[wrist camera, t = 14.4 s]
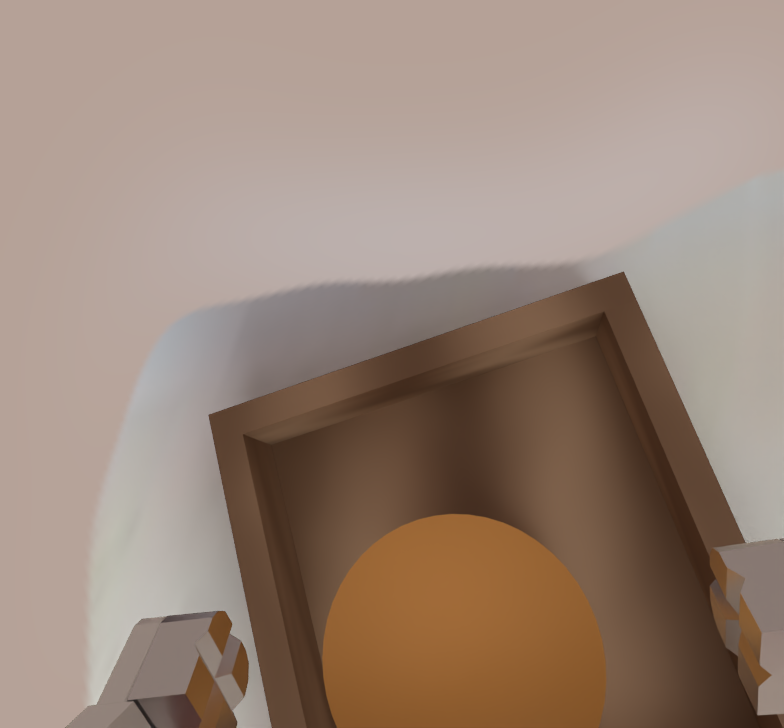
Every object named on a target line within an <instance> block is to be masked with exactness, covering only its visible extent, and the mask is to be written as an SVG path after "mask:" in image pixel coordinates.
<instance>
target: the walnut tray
mask: <svg viewBox="0 0 784 728" xmlns="http://www.w3.org/2000/svg"><path fill="white" fill-rule="evenodd" d="M209 420H210V425H211V429H212V434H213V439H214V444H215V449H216V454H217V459H218V464H219V469H220V474H221V479H222V484H223V489H224V494H225V499H226V503H227V508H228V513H229V518H230V523H231V528H232V533H233V538H234V543H235V548H236V553H237V558H238V563H239V568H240V573H241V577H242V582H243V587H244V592H245V597H246V602H247V607H248V612H249V617H250V622H251V627H252V632H253V637H254V642H255V646H256V651H257V656H258V661H259V666H260V671H261V676H262V681H263V686H264V691H265V696H266V701H267V706H268V711H269V716H270V720H271V725H272V728H337V726H336V724H335V721H334V719H333V717H332V713H331V710H330V707H329V703H328V700H327V696H326V690H325V684H324V678H323V661H322V656H323V640H324V634H325V628H326V623H327V619H328V615H329V612H330V609H331V606H332V602H333V600H334V598H335V596H336V593H337V591H338V589H339V587H340V585H341V583H342V582H343V580H344V578H345V577H346V575H347V573H348V572H349V570H350V569H351V568H352V566H353V565H354V564H355V563H356V561H357V560H358V559H359V558H360V556H361V555H362V554H363V553H364V552H366V551H367V550H368V549H369V548H370V547H371V546H372V545H373V544H374V543H375V542H377V541H378V540H379V539H381V538H382V537H383V536H385V535H386V534H388V533H390V532H391V531H393V530H395V529H397V528H399V527H400V526H403V525H405V524H408V523H410V522H413V521H415V520H418V519H422V518H427V517H431V516H436V515H446V514H468V515H475V516H481V517H487V518H490V519H493V520H496V521H500V522H503V523H505V524H508V525H510V526H512V527H514V528H516V529H519V530H521V531H522V532H524V533H526V534H527V535H529V536H530V537H532V538H534V539H535V540H537V541H538V542H539V543H541V544H542V545H543V546H544V547H546V548H547V549H548V550H549V551H551V552H552V553H553V554H554V555H555V556H556V557H557V558H558V559H559V560H560V561H561V563H562V564H563V565H564V566H565V567H566V568H567V569H568V571H569V572H570V573H571V575H572V576H573V577H574V579H575V580H576V581H577V582H578V584H579V586H580V588H581V589H582V591H583V593H584V594H585V596H586V598H587V600H588V602H589V604H590V606H591V609H592V611H593V613H594V615H595V618H596V620H597V624H598V627H599V631H600V634H601V637H602V642H603V648H604V654H605V660H606V692H605V703H604V707H603V712H602V717H601V721H600V724H599V727H598V728H784V714H771V715H757V713H756V711H755V709H754V707H753V705H752V703H751V701H750V699H749V696H748V694H747V692H746V690H745V688H744V686H743V684H742V682H741V680H740V677H739V675H738V656H737V655H736V654H734V653H733V652H731V651H730V650H729V649H727V648H726V647H725V645H724V643H723V640H722V638H721V636H720V634H719V631H718V628H717V625H716V622H715V620H714V616H713V611H712V606H711V601H710V585H711V584H712V583H713V582H714V580H715V579H716V577H715V575H714V573H713V571H712V569H711V567H710V552H711V550H712V548H714V547H721V546H728V545H736V544H743V543H745V541H744V538H743V536H742V534H741V532H740V530H739V527H738V525H737V523H736V521H735V518H734V516H733V514H732V512H731V510H730V507H729V505H728V503H727V501H726V498H725V496H724V494H723V492H722V489H721V487H720V485H719V483H718V481H717V478H716V476H715V474H714V472H713V469H712V467H711V465H710V463H709V460H708V458H707V456H706V454H705V452H704V449H703V447H702V445H701V443H700V440H699V438H698V436H697V434H696V432H695V429H694V427H693V425H692V423H691V420H690V418H689V416H688V414H687V411H686V409H685V407H684V405H683V403H682V400H681V398H680V396H679V394H678V391H677V389H676V387H675V385H674V382H673V380H672V378H671V376H670V374H669V371H668V369H667V367H666V365H665V362H664V360H663V358H662V356H661V353H660V351H659V349H658V347H657V345H656V342H655V340H654V338H653V336H652V333H651V331H650V329H649V327H648V325H647V322H646V320H645V318H644V316H643V313H642V311H641V309H640V307H639V304H638V302H637V300H636V298H635V296H634V293H633V291H632V289H631V287H630V284H629V282H628V280H627V278H626V275H625V273H624V272H621V273H618V274H615V275H612V276H609V277H606V278H604V279H601V280H598V281H595V282H592V283H589V284H586V285H583V286H580V287H577V288H575V289H572V290H569V291H566V292H563V293H560V294H557V295H554V296H551V297H549V298H546V299H543V300H540V301H537V302H534V303H531V304H528V305H525V306H522V307H520V308H517V309H514V310H511V311H508V312H505V313H502V314H499V315H496V316H494V317H491V318H488V319H485V320H482V321H479V322H476V323H473V324H470V325H467V326H465V327H462V328H459V329H456V330H453V331H450V332H447V333H444V334H441V335H439V336H436V337H433V338H430V339H427V340H424V341H421V342H418V343H415V344H412V345H410V346H407V347H404V348H401V349H398V350H395V351H392V352H389V353H386V354H384V355H381V356H378V357H375V358H372V359H369V360H366V361H363V362H360V363H357V364H355V365H352V366H349V367H346V368H343V369H340V370H337V371H334V372H331V373H329V374H326V375H323V376H320V377H317V378H314V379H311V380H308V381H305V382H302V383H300V384H297V385H294V386H291V387H288V388H285V389H282V390H279V391H276V392H274V393H271V394H268V395H265V396H262V397H259V398H256V399H253V400H250V401H247V402H245V403H242V404H239V405H236V406H233V407H230V408H227V409H224V410H221V411H219V412H216V413H213V414H210V415H209Z"/></svg>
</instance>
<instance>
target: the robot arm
mask: <svg viewBox="0 0 784 728" xmlns="http://www.w3.org/2000/svg"><path fill="white" fill-rule="evenodd" d="M710 567H711V569H712V571H713V573H714V575H715V577H716V579H715V580H714V582H713V583H712V584H711V585H710V601H711V606H712V611H713V616H714V620H715V622H716V625H717V628H718V631H719V634H720V636H721V638H722V640H723V643H724V645H725V647H726V648H727V649H729V650H730V651H731V652H733V653H734V654H736V655H737V656H738V675H739V677H740V680H741V682H742V684H743V686H744V688H745V690H746V692H747V694H748V696H749V699H750V701H751V703H752V705H753V707H754V709H755V711H756V713H757V715H771V714H784V538H782V539H780V540H779V539H772V540H765V541H757V542H750V543H743V544H736V545H728V546H721V547H714V548H712V550H711V552H710ZM231 627H232V622H231V621H230V619H229V617H228V615H227V614H226V612H225V611H213V612H203V613H193V614H183V615H172V616H166V617H156V618H147V619H142V620H140V621H139V622H138V623H137V624H136V625H135V626H134V628H133V630H132V632H131V634H130V636H129V638H128V640H127V642H126V644H125V646H124V648H123V651H122V653H121V655H120V657H119V659H118V661H117V663H116V665H115V667H114V669H113V671H112V674H111V676H110V678H109V680H108V682H107V684H106V686H105V688H104V690H103V692H102V694H101V696H100V699H99V701H98V703H97V705H91V706H88V707H87V708H86V709H85V710H84V711H83V712H81V713H80V714H79V715H78V716H77V717H76V718H75V719H74V720H73V721H72V722H71V723H70V724H69V725H67V726H66V727H65V728H236V726H237V720H236V718H235V716H234V713H233V711H232V710H233V709H234V708H235V707H236V706H237V705H238V704H239V703H240V701H241V700H242V699H243V698H244V696H245V692H246V688H247V684H248V668H249V663H248V658H247V654H246V650H245V648H244V646H243V644H242V642H241V641H240V640H239V639H237V638H235V637H234V636H232V635H231V634H229V633H230V630H231Z"/></svg>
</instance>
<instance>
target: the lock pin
mask: <svg viewBox="0 0 784 728" xmlns="http://www.w3.org/2000/svg"><path fill="white" fill-rule="evenodd" d="M322 661H323V678H324V684H325V690H326V696H327V700H328V703H329V707H330V710H331V713H332V717H333V719H334V721H335V724H336V726H337V728H598V727H599V724H600V721H601V717H602V712H603V707H604V703H605V692H606V660H605V654H604V648H603V642H602V637H601V634H600V631H599V627H598V624H597V620H596V618H595V615H594V613H593V611H592V609H591V606H590V604H589V602H588V600H587V598H586V596H585V594H584V593H583V591H582V589H581V588H580V586H579V584H578V582H577V581H576V580H575V579H574V577H573V576H572V575H571V573H570V572H569V571H568V569H567V568H566V567H565V566H564V565H563V564H562V563H561V561H560V560H559V559H558V558H557V557H556V556H555V555H554V554H553V553H552V552H551V551H549V550H548V549H547V548H546V547H544V546H543V545H542V544H541V543H539V542H538V541H537V540H535V539H534V538H532V537H530V536H529V535H527V534H526V533H524V532H522V531H521V530H519V529H516V528H514V527H512V526H510V525H508V524H505V523H503V522H500V521H496V520H493V519H490V518H487V517H481V516H475V515H468V514H446V515H436V516H431V517H427V518H422V519H418V520H415V521H413V522H410V523H408V524H405V525H403V526H400V527H399V528H397V529H395V530H393V531H391V532H390V533H388V534H386V535H385V536H383V537H382V538H381V539H379V540H378V541H377V542H375V543H374V544H373V545H372V546H371V547H370V548H369V549H368V550H367V551H366V552H364V553H363V554H362V555H361V556H360V558H359V559H358V560H357V561H356V563H355V564H354V565H353V566H352V568H351V569H350V570H349V572H348V573H347V575H346V577H345V578H344V580H343V582H342V583H341V585H340V587H339V589H338V591H337V593H336V596H335V598H334V600H333V602H332V606H331V609H330V612H329V615H328V619H327V623H326V628H325V634H324V640H323V656H322Z"/></svg>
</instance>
